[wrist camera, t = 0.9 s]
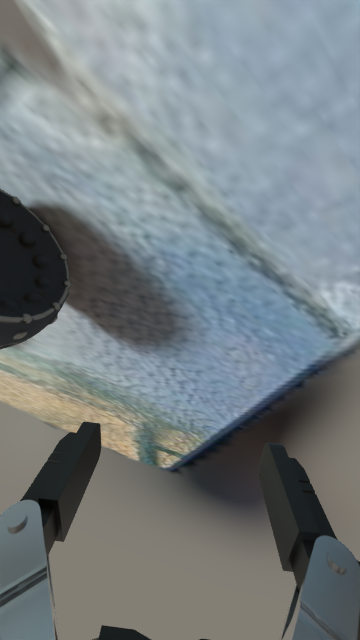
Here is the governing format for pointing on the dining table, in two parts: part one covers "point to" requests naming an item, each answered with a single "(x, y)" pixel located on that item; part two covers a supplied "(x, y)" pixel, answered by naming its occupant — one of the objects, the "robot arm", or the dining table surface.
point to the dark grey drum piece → (28, 273)
